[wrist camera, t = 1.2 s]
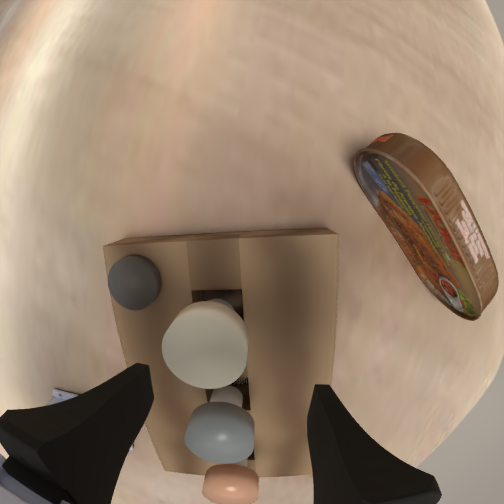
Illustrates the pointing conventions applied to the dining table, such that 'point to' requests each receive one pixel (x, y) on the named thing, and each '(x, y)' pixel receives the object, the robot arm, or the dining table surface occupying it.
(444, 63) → the dining table surface
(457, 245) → the tin
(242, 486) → the peach pink ball
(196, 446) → the knob slate
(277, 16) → the dining table surface
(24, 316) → the dining table surface
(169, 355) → the knob cream
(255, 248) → the board
